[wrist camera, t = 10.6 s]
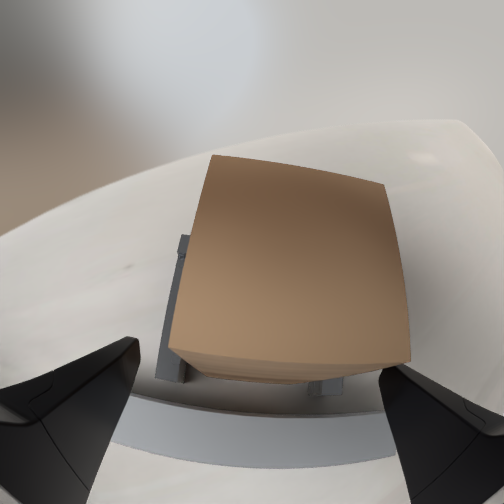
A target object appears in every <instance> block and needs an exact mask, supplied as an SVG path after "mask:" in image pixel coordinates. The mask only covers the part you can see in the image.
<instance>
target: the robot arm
mask: <svg viewBox="0 0 504 504" xmlns="http://www.w3.org/2000/svg"><path fill="white" fill-rule="evenodd" d="M140 360H141V356H140V346H139V340H138V339H137V338H133V337H129V336H127V337H124V338H122V339H120V340H118V341H116V342H114V343H112V344H110V345H107V346H105V347H103V348H101V349H99V350H97V351H94V352H92V353H90V354H88V355H86V356H84V357H81V358H79V359H77V360H75V361H73V362H70V363H68V364H66V365H64V366H61V367H59V368H57V369H55V370H54V371H50V372H48V373H46V374H43V375H41V376H38V377H36V378H33V379H31V380H28V381H25V382H22V383H19V384H16V385H12V386H9V387H6V388H2V389H0V504H86V502H87V499H88V496H89V493H90V492H89V491H90V490H91V488H92V485H93V482H94V480H95V477H96V475H97V472H98V470H99V467H100V465H101V462H102V460H103V457H104V455H105V452H106V450H107V447H108V445H109V443H110V440H111V438H112V435H113V433H114V431H115V428H116V426H117V424H118V422H119V419H120V417H121V415H122V412H123V410H124V408H125V406H126V404H127V401H128V399H129V396H130V393H131V390H132V387H133V384H134V380H135V377H136V374H137V371H138V368H139V365H140ZM379 387H380V391H381V395H382V400H383V405H384V409H385V413H386V417H387V420H388V423H389V426H390V429H391V432H392V436H393V439H394V442H395V445H396V449H397V452H398V455H399V459H400V462H401V466H402V469H403V473H404V477H405V481H406V485H407V488H408V492H409V497H410V500H411V504H504V417H503V416H501V415H499V414H496V413H494V412H492V411H489V410H487V409H485V408H483V407H481V406H479V405H477V404H475V403H473V402H471V401H469V400H467V399H465V398H462V397H461V396H460V395H458V394H456V393H454V392H452V391H451V390H449V389H447V388H445V387H443V386H442V385H440V384H438V383H436V382H434V381H433V380H431V379H429V378H427V377H425V376H424V375H422V374H420V373H418V372H417V371H415V370H413V369H411V368H410V367H408V366H406V365H404V364H400V365H396V366H392V367H388V368H383V370H382V372H381V374H380V376H379Z"/></svg>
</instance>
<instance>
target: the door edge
mask: <svg viewBox="0 0 504 504" xmlns="http://www.w3.org/2000/svg"><path fill="white" fill-rule="evenodd" d="M110 441H112V442H115V443H118V444H121V445H124V446H127V447H131V448H134V449H138V450H141V451H145V452H149V453H153V454H157V455H161V456H166V457H170V458H175V459H180V460H186V461H192V462H198V463H205V464H212V465H221V466H231V467H243V468H266V469H291V468H313V467H326V466H336V465H344V464H351V463H358V462H364V461H370V460H375V459H380V458H385V457H390V456H394V455H395V453H396V445H395V442H394V439H393V436H392V432H391V429H390V426H389V423H388V420H387V417H386V413H385V410H377V411H368V412H357V413H344V414H322V415H284V414H262V413H248V412H237V411H227V410H219V409H211V408H204V407H198V406H192V405H186V404H180V403H175V402H170V401H165V400H161V399H156V398H152V397H147V396H143V395H139V394H135V393H132V392H131V393H130V396H129V399H128V401H127V404H126V406H125V408H124V410H123V412H122V415H121V417H120V419H119V422H118V424H117V426H116V428H115V431H114V433H113V435H112V438H111V440H110Z"/></svg>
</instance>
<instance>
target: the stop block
mask: <svg viewBox="0 0 504 504" xmlns="http://www.w3.org/2000/svg"><path fill="white" fill-rule="evenodd" d="M168 348H170V349H171V350H172V351H173V352H175V353H176V354H177V355H178V356H180V357H181V358H182V359H184V360H185V361H186V362H188V363H189V364H190V365H192V366H193V367H194V368H196V369H197V370H198V371H200V372H201V373H202V374H204V375H205V376H207V377H213V378H221V379H229V380H238V381H248V382H259V383H273V384H297V383H305V382H313V381H320V380H326V379H333V378H339V377H344V376H350V375H355V374H360V373H365V372H370V371H375V370H379V369H383V368H388V367H392V366H396V365H400V364H403V363H407V362H411V353H410V334H409V320H408V309H407V300H406V292H405V284H404V277H403V270H402V264H401V258H400V253H399V247H398V242H397V237H396V232H395V227H394V223H393V218H392V214H391V210H390V206H389V202H388V198H387V194H386V191H385V187H384V185H383V184H380V183H376V182H372V181H367V180H363V179H359V178H355V177H350V176H346V175H341V174H336V173H332V172H327V171H322V170H316V169H311V168H306V167H300V166H294V165H288V164H282V163H276V162H269V161H262V160H255V159H247V158H239V157H230V156H221V155H212V157H211V160H210V164H209V167H208V171H207V174H206V178H205V182H204V185H203V189H202V193H201V196H200V200H199V204H198V208H197V212H196V216H195V220H194V224H193V228H192V232H191V236H190V240H189V244H188V249H187V253H186V258H185V262H184V267H183V271H182V276H181V281H180V285H179V290H178V295H177V300H176V305H175V311H174V316H173V321H172V327H171V333H170V339H169V344H168Z"/></svg>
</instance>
